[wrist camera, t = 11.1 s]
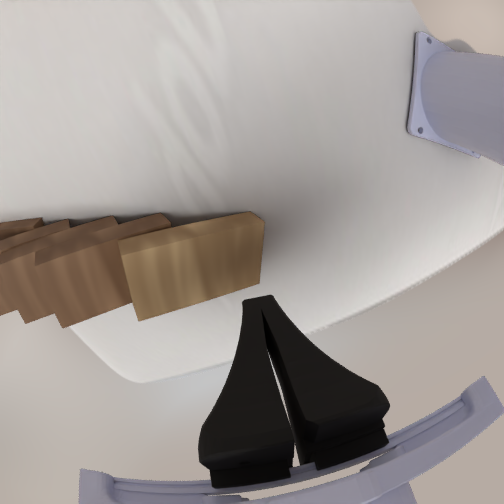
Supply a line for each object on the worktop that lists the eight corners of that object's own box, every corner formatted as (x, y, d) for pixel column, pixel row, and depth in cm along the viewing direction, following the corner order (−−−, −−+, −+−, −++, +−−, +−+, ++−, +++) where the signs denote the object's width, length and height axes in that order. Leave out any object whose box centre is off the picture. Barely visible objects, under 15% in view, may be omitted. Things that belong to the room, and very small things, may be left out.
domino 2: (69, 228, 14) (-34, 263, 9) (85, 286, 16) (-8, 318, 12) (68, 218, 15) (-29, 251, 10) (82, 274, 17) (-7, 304, 13)
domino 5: (264, 221, 16) (121, 255, 12) (259, 283, 18) (138, 321, 14) (250, 211, 17) (117, 240, 13) (247, 270, 19) (133, 303, 15)
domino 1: (33, 226, 13) (-33, 234, 12) (51, 282, 16) (-15, 281, 14) (43, 215, 15) (-22, 224, 13) (59, 269, 17) (-6, 270, 16)
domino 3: (118, 224, 14) (-3, 265, 10) (131, 285, 17) (25, 323, 12) (112, 215, 15) (0, 252, 11) (124, 273, 18) (25, 308, 13)
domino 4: (170, 222, 15) (34, 266, 10) (177, 285, 17) (62, 328, 13) (160, 212, 16) (35, 252, 11) (167, 272, 18) (59, 311, 14)
